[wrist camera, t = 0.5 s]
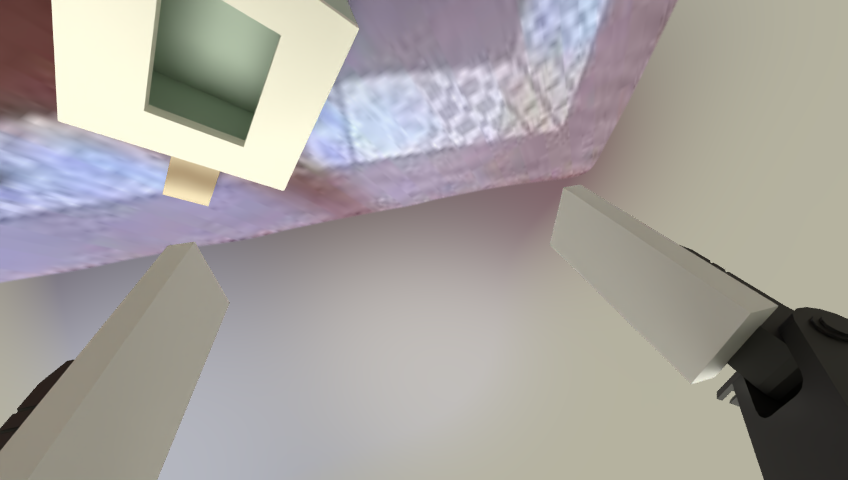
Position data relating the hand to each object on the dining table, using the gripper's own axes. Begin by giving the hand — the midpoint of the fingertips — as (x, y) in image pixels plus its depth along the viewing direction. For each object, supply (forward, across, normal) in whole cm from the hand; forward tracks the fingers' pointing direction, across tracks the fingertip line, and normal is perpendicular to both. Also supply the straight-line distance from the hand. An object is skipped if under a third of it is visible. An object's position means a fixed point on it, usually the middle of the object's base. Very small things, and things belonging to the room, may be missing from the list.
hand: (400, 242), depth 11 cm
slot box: (+26, -10, +7) cm, 28 cm away
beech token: (+29, -18, -4) cm, 34 cm away
